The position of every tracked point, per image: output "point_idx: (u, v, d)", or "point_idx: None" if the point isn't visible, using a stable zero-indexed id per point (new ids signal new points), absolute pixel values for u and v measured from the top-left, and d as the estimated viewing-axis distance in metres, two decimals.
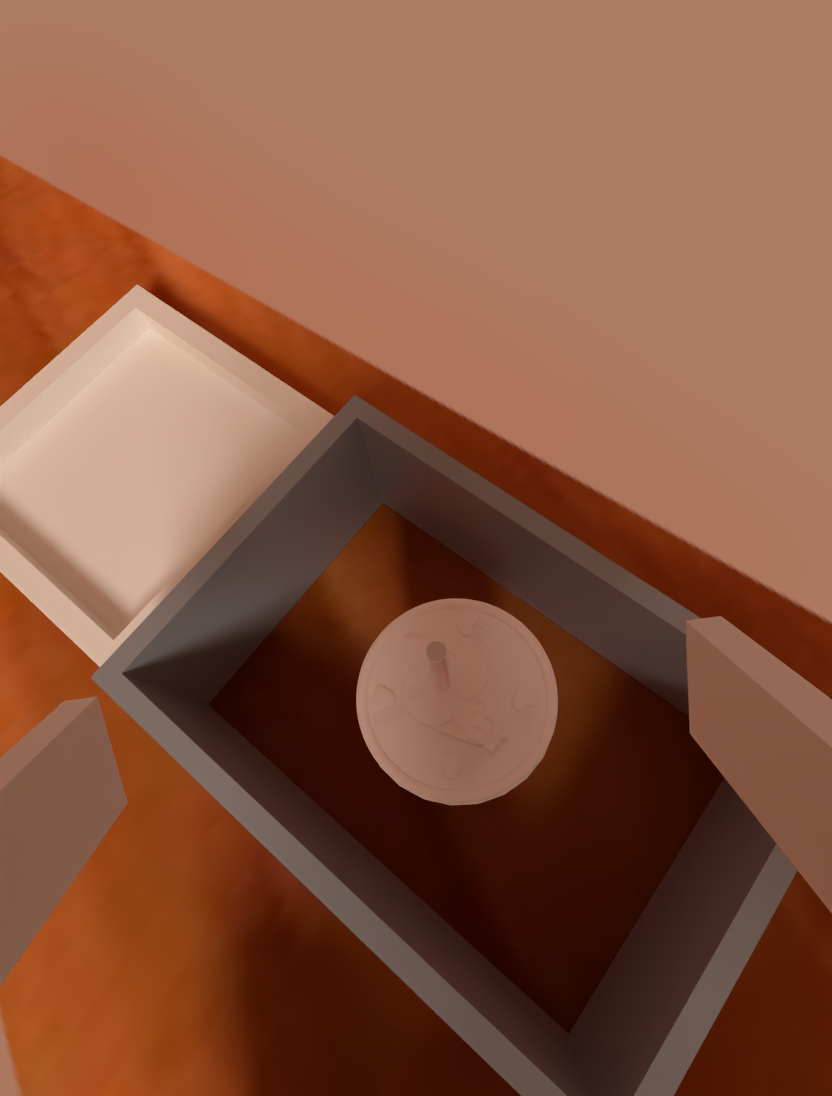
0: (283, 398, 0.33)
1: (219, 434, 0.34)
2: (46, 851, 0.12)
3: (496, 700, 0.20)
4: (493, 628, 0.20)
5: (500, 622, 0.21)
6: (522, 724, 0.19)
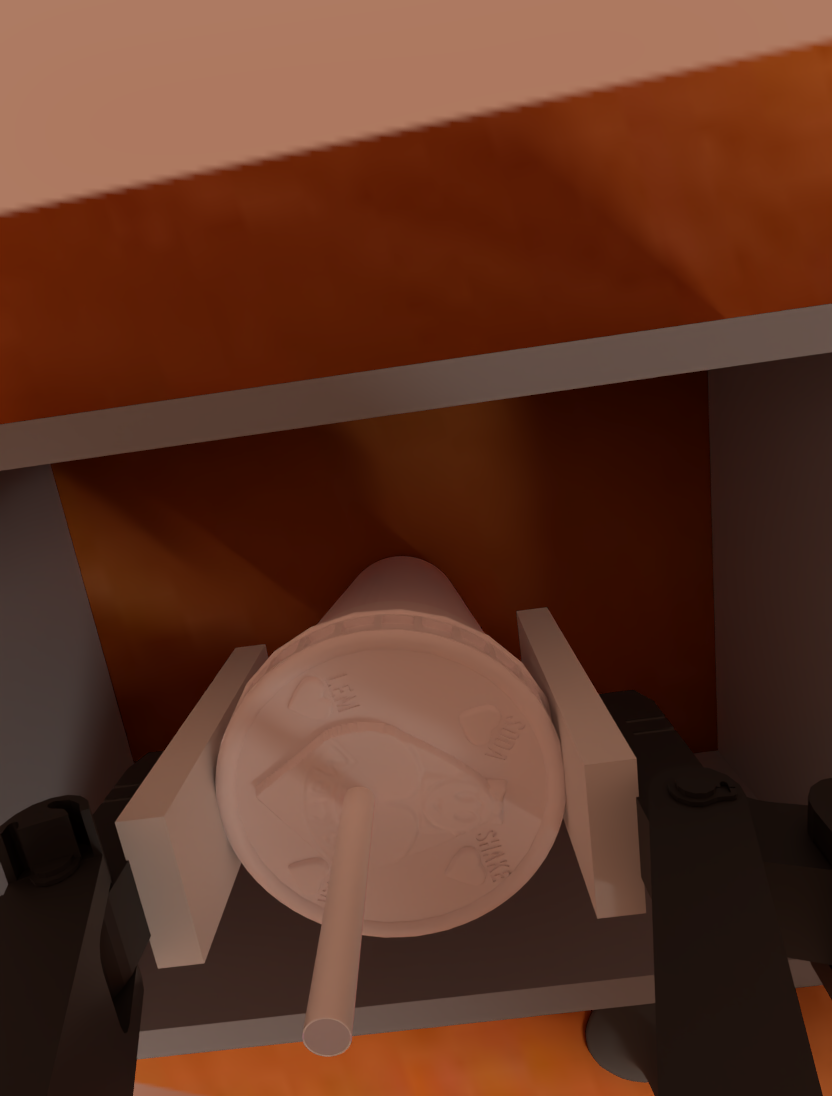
0: None
1: None
2: None
3: (449, 758, 0.11)
4: (352, 673, 0.11)
5: (353, 656, 0.11)
6: (507, 753, 0.11)
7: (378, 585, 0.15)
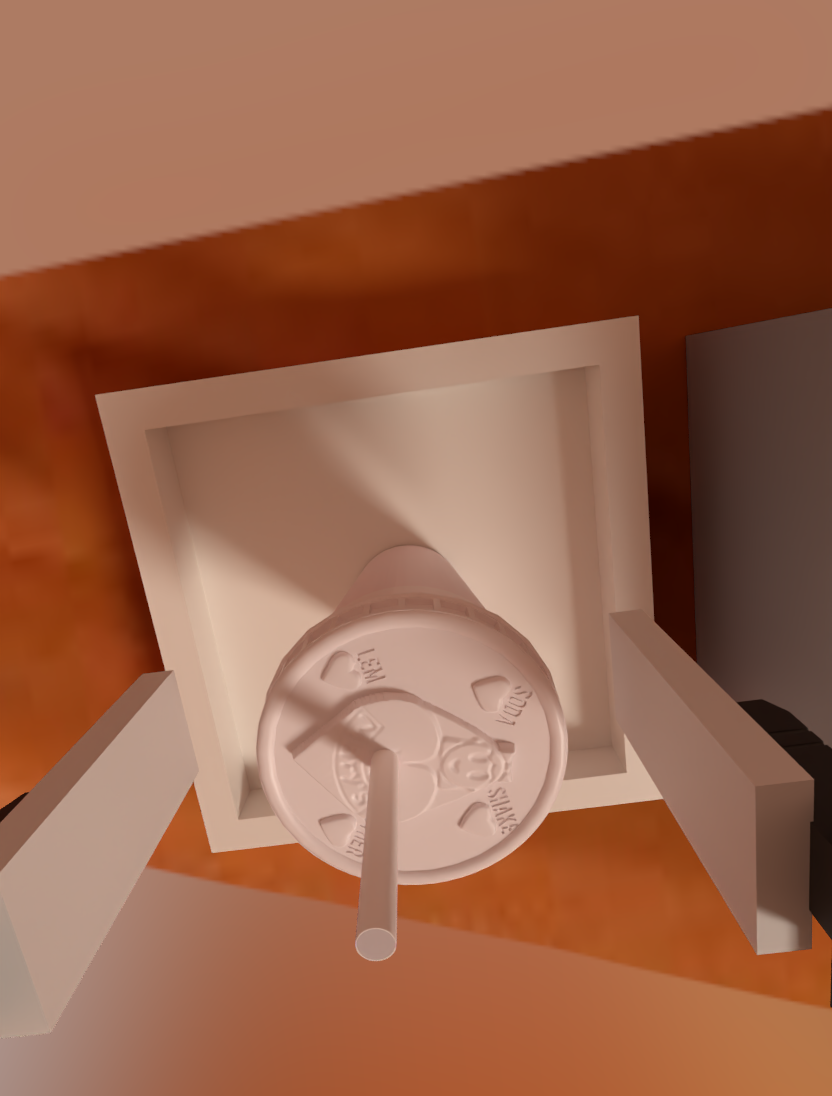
0: (514, 360, 0.19)
1: (440, 471, 0.21)
2: (140, 808, 0.13)
3: (464, 724, 0.13)
4: (379, 648, 0.12)
5: (380, 633, 0.12)
6: (516, 719, 0.13)
7: (392, 572, 0.17)
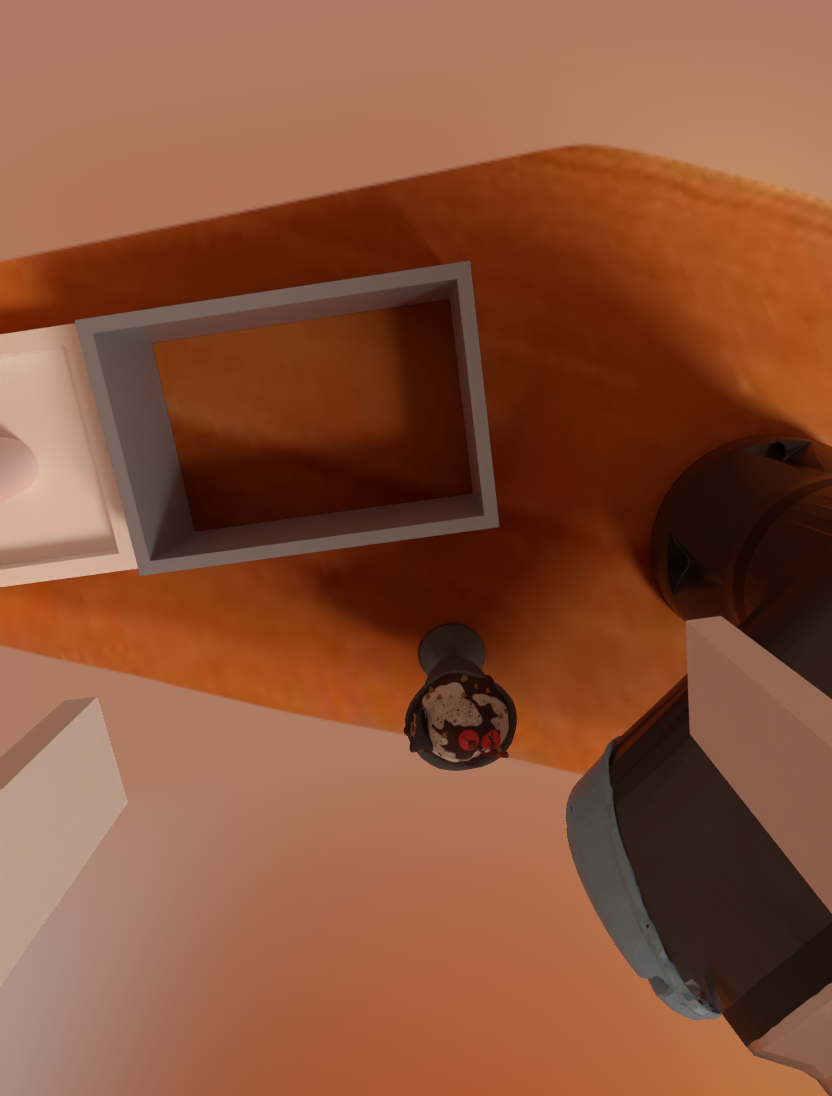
0: (24, 343, 0.40)
1: (16, 399, 0.42)
2: (46, 851, 0.12)
3: None
4: None
5: None
6: None
7: None
